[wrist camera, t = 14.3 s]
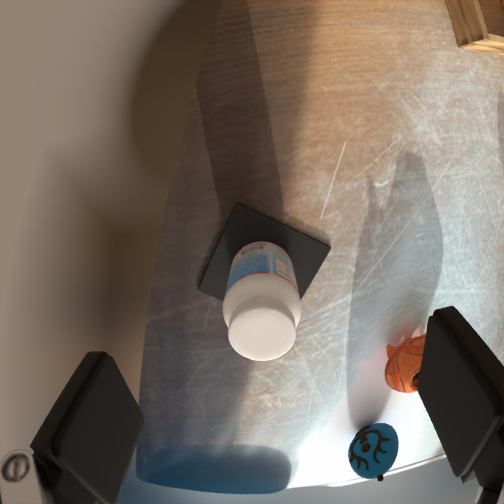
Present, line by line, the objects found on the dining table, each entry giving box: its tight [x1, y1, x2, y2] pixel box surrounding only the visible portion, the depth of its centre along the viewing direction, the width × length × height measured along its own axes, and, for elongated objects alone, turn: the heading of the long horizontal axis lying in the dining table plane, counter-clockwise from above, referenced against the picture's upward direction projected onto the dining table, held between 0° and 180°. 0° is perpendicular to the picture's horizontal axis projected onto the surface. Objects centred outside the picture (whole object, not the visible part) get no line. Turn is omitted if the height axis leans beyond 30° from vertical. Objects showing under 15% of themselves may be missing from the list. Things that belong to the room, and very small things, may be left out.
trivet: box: [198, 203, 331, 301], centre depth 32 cm, size 10×10×1 cm
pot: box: [385, 334, 426, 393], centre depth 33 cm, size 8×8×7 cm
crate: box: [445, 0, 504, 55], centre depth 19 cm, size 11×9×5 cm
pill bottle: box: [223, 242, 301, 361], centre depth 27 cm, size 6×6×11 cm
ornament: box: [348, 423, 398, 481], centre depth 37 cm, size 8×5×10 cm, turn 139°
